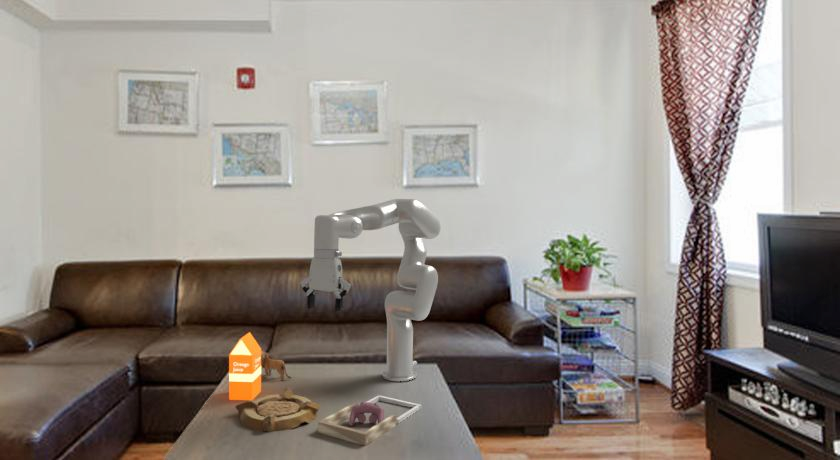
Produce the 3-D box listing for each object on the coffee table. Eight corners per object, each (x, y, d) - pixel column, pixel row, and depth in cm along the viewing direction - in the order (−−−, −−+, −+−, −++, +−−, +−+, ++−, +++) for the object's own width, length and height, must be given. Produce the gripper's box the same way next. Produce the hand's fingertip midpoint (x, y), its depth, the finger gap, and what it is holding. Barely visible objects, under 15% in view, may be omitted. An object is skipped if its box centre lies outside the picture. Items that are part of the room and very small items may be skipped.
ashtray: (234, 407, 169) (234, 391, 169) (311, 398, 178) (311, 383, 177) (237, 438, 147) (237, 420, 147) (325, 426, 155) (325, 409, 155)
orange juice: (261, 390, 183) (261, 332, 182) (252, 400, 174) (252, 338, 173) (238, 390, 183) (238, 331, 182) (228, 399, 174) (228, 338, 173)
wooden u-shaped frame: (351, 413, 164) (351, 404, 164) (396, 425, 156) (396, 415, 156) (317, 432, 151) (318, 421, 151) (365, 445, 143) (365, 434, 143)
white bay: (378, 398, 177) (378, 395, 177) (421, 408, 169) (421, 404, 169) (353, 412, 165) (353, 408, 165) (398, 423, 157) (398, 419, 157)
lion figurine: (252, 376, 197) (252, 352, 197) (261, 372, 202) (261, 348, 202) (287, 382, 192) (287, 356, 192) (295, 377, 197) (295, 353, 197)
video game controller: (384, 428, 158) (386, 403, 160) (381, 427, 153) (383, 401, 156) (350, 427, 159) (353, 402, 161) (347, 425, 154) (350, 400, 157)
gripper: (356, 255, 170) (354, 309, 171) (308, 252, 176) (306, 305, 177) (345, 257, 163) (343, 313, 164) (295, 254, 169) (294, 308, 170)
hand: (324, 309), depth 170 cm, fingers open, 9 cm apart
